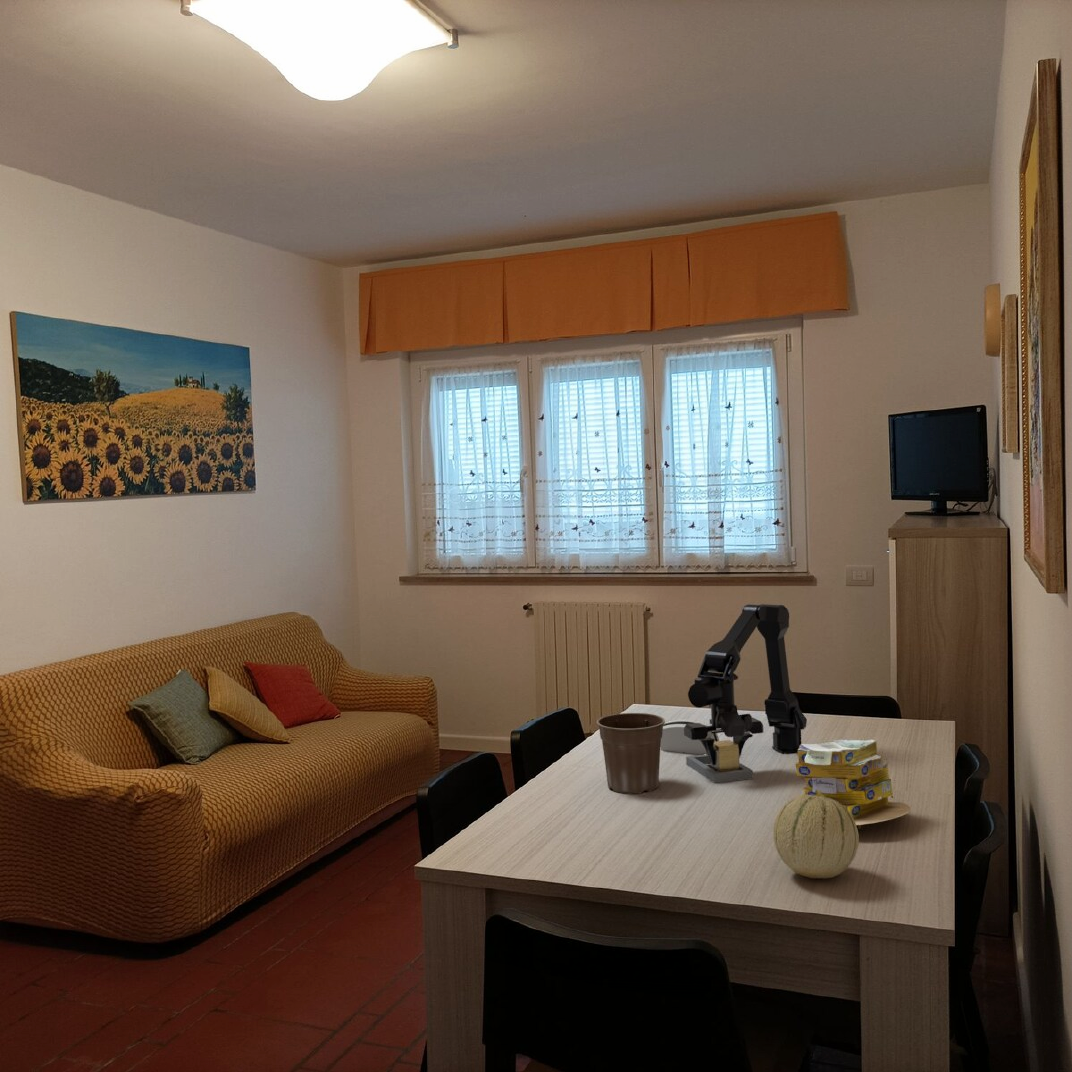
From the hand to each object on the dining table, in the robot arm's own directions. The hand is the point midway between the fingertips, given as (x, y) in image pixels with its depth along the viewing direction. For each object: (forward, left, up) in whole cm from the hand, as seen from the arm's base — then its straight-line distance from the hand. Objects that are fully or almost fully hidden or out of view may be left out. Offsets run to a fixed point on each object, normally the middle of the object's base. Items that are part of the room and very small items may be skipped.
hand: (724, 763), depth 251 cm
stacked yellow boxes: (-10, +41, -3) cm, 42 cm away
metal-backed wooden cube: (0, 0, -2) cm, 2 cm away
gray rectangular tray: (0, -4, -3) cm, 5 cm away
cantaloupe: (+11, +66, -3) cm, 67 cm away
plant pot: (+24, +1, -3) cm, 24 cm away
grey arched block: (0, -24, -3) cm, 24 cm away
